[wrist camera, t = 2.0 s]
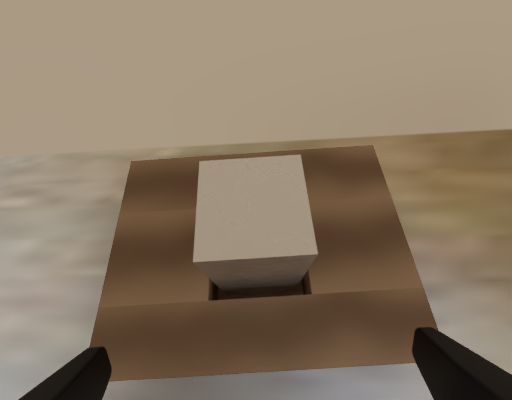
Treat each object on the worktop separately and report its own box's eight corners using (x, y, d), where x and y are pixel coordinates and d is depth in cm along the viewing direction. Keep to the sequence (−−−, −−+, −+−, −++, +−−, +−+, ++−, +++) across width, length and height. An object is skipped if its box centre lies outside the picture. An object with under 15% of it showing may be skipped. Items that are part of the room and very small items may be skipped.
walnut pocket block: (400, 353, 18) (449, 360, 14) (129, 370, 18) (81, 383, 14) (352, 181, 25) (372, 145, 21) (156, 193, 26) (131, 161, 21)
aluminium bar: (293, 291, 19) (317, 254, 10) (227, 295, 19) (192, 262, 10) (286, 229, 21) (300, 154, 12) (227, 232, 21) (199, 161, 12)
